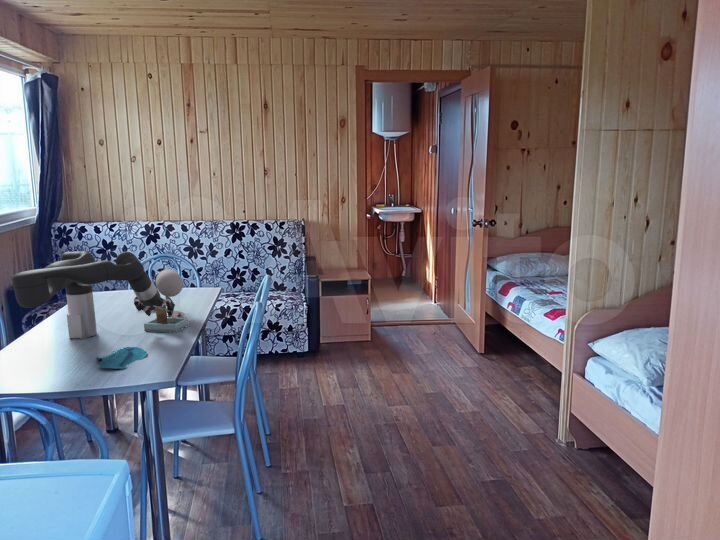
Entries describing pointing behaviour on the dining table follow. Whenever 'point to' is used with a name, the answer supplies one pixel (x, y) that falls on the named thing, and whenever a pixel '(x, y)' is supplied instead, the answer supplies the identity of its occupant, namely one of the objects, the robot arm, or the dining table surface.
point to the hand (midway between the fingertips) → (160, 314)
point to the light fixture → (170, 287)
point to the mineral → (122, 358)
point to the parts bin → (166, 325)
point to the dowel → (161, 316)
